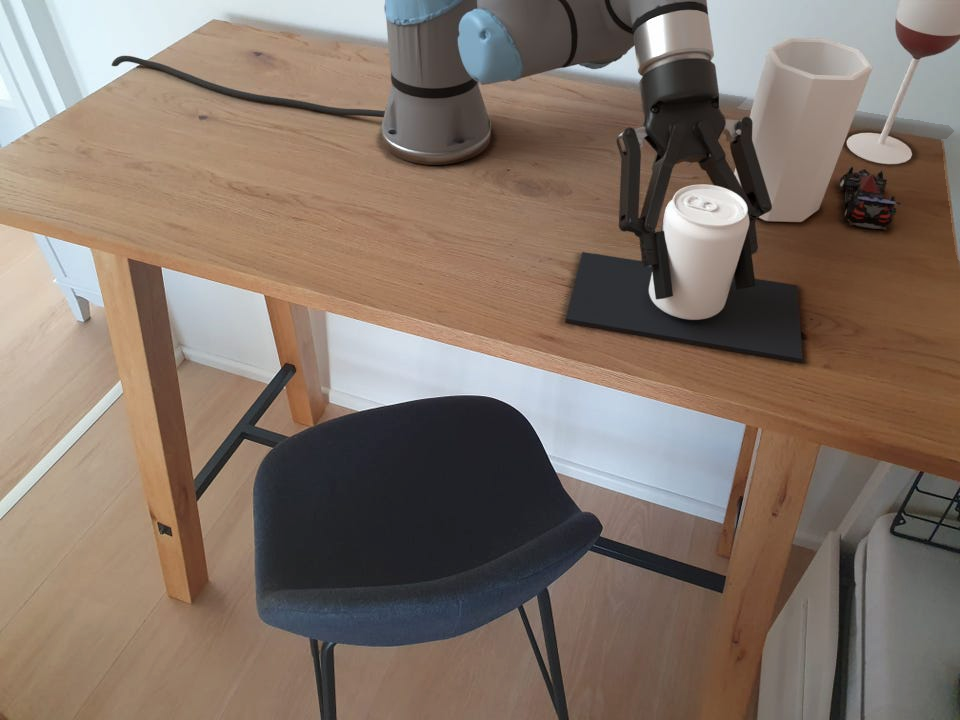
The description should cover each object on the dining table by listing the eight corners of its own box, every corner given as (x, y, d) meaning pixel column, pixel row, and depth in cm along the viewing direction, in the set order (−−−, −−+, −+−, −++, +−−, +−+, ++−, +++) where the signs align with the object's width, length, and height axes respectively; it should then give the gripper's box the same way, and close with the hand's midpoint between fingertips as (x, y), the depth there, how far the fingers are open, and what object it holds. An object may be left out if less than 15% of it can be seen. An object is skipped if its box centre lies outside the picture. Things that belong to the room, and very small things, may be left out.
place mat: (565, 322, 81) (565, 318, 80) (581, 255, 89) (582, 251, 89) (801, 363, 77) (802, 358, 76) (795, 289, 85) (797, 285, 85)
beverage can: (708, 334, 78) (737, 238, 70) (635, 306, 81) (654, 211, 73) (734, 291, 83) (764, 197, 75) (664, 267, 86) (685, 173, 78)
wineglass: (842, 158, 105) (910, -19, 89) (846, 125, 112) (910, -45, 96) (913, 172, 103) (996, -7, 87) (914, 138, 110) (991, -35, 93)
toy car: (840, 226, 94) (852, 197, 91) (834, 175, 102) (844, 148, 99) (893, 233, 93) (907, 205, 90) (882, 182, 101) (894, 154, 98)
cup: (824, 188, 100) (877, 46, 87) (812, 233, 93) (868, 86, 80) (738, 168, 103) (777, 29, 90) (720, 211, 96) (759, 66, 83)
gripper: (753, 76, 83) (781, 285, 83) (567, 91, 80) (595, 308, 80) (791, 46, 75) (821, 276, 75) (587, 62, 72) (618, 301, 72)
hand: (705, 292), depth 77 cm, fingers closed on beverage can, 8 cm apart
